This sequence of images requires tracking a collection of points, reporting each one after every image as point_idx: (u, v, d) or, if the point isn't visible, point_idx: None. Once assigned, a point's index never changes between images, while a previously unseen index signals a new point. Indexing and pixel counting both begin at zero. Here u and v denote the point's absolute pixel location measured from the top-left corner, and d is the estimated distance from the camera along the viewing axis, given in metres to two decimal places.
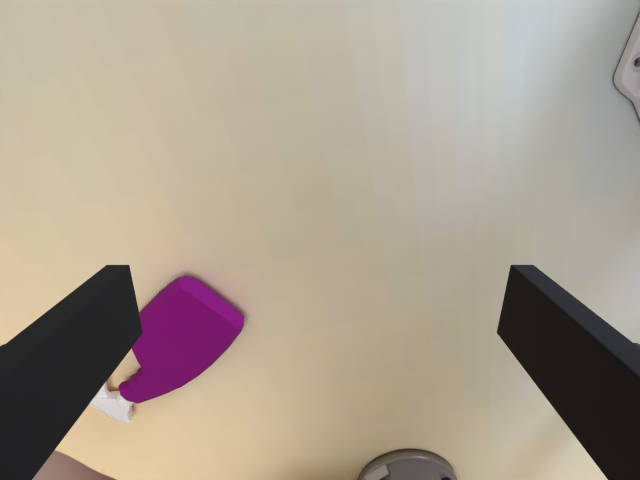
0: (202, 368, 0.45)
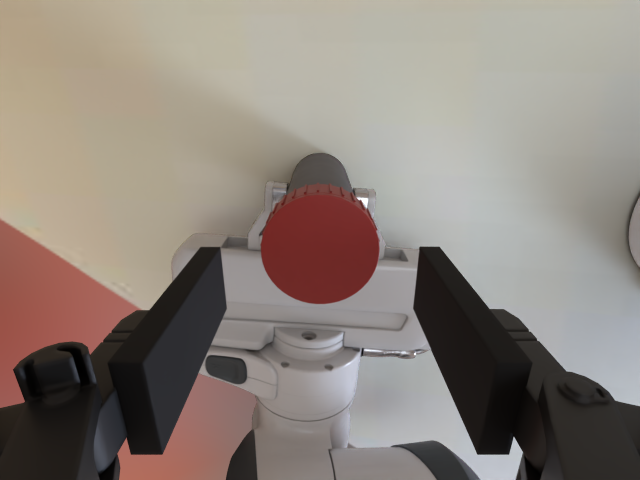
0: None
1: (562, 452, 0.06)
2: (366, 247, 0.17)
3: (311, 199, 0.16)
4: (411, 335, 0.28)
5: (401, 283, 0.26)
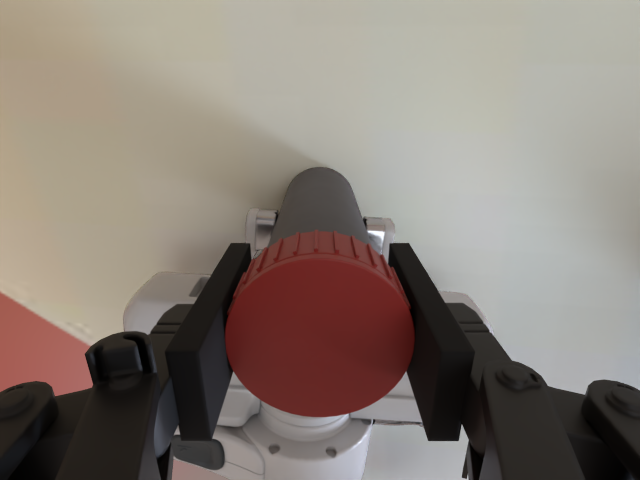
0: None
1: (499, 438, 0.06)
2: (394, 337, 0.10)
3: (305, 265, 0.10)
4: None
5: None
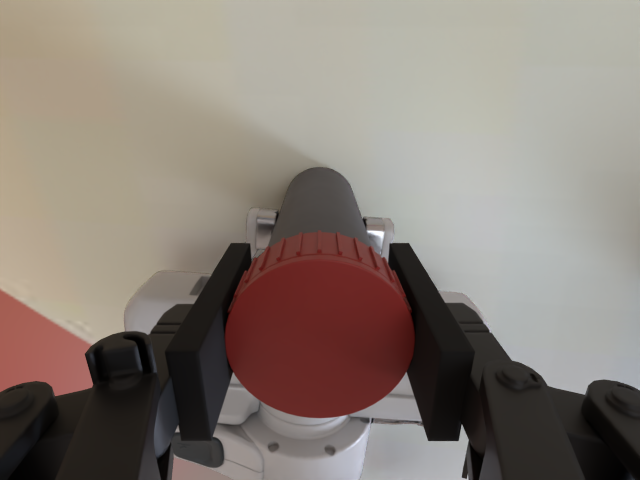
0: None
1: (499, 438, 0.06)
2: (304, 281, 0.10)
3: (235, 362, 0.11)
4: None
5: None
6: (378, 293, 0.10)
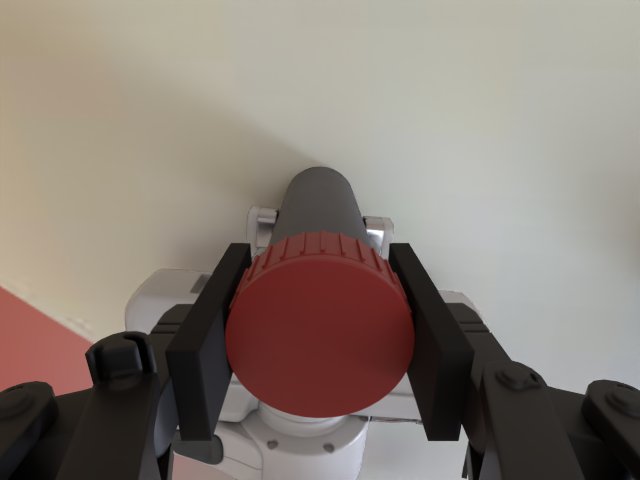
0: None
1: (499, 439, 0.06)
2: (249, 361, 0.11)
3: (343, 410, 0.11)
4: None
5: None
6: (252, 302, 0.10)
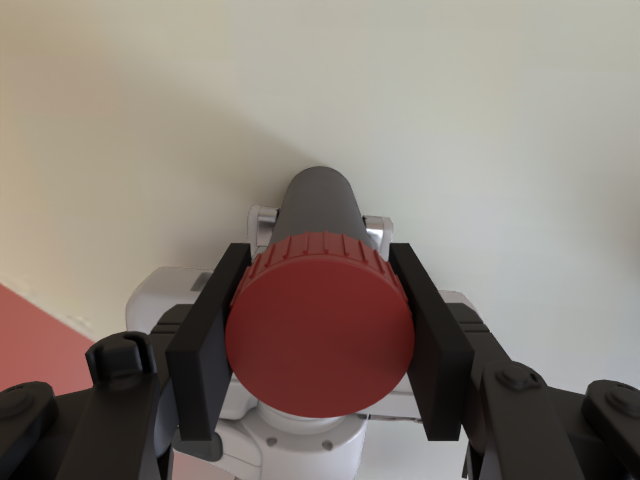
0: None
1: (499, 438, 0.06)
2: (342, 400, 0.11)
3: (405, 319, 0.10)
4: None
5: None
6: (276, 399, 0.11)
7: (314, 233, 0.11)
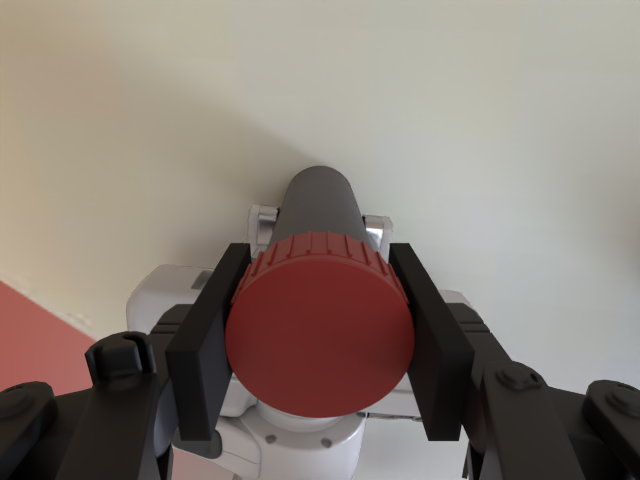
0: None
1: (499, 438, 0.06)
2: (390, 321, 0.10)
3: (279, 273, 0.10)
4: None
5: None
6: (387, 379, 0.11)
7: None
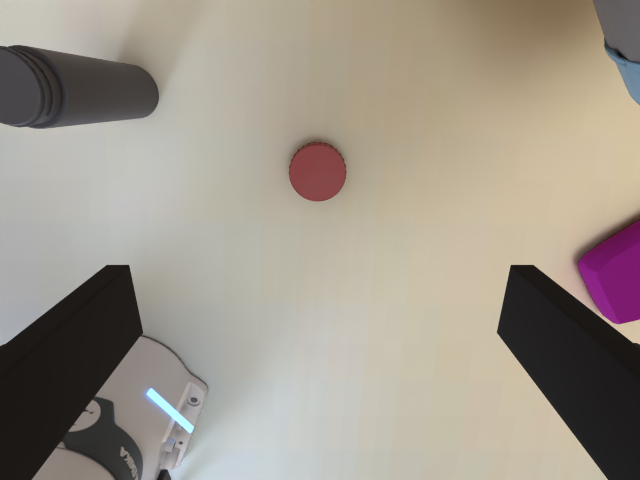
0: None
1: None
2: (337, 165, 0.35)
3: (306, 149, 0.34)
4: None
5: None
6: (338, 185, 0.36)
7: None
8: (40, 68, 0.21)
